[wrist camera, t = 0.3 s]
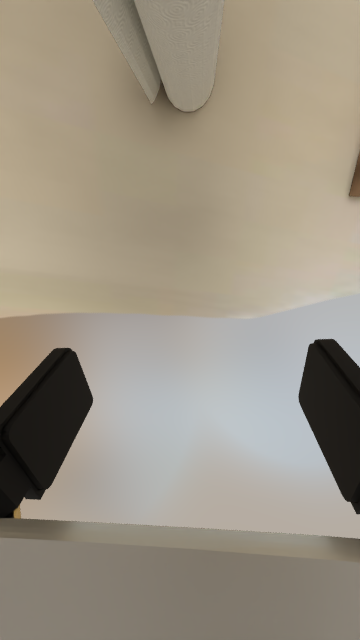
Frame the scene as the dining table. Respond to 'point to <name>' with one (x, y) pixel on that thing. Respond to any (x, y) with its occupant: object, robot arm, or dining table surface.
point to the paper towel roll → (168, 45)
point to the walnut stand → (356, 180)
